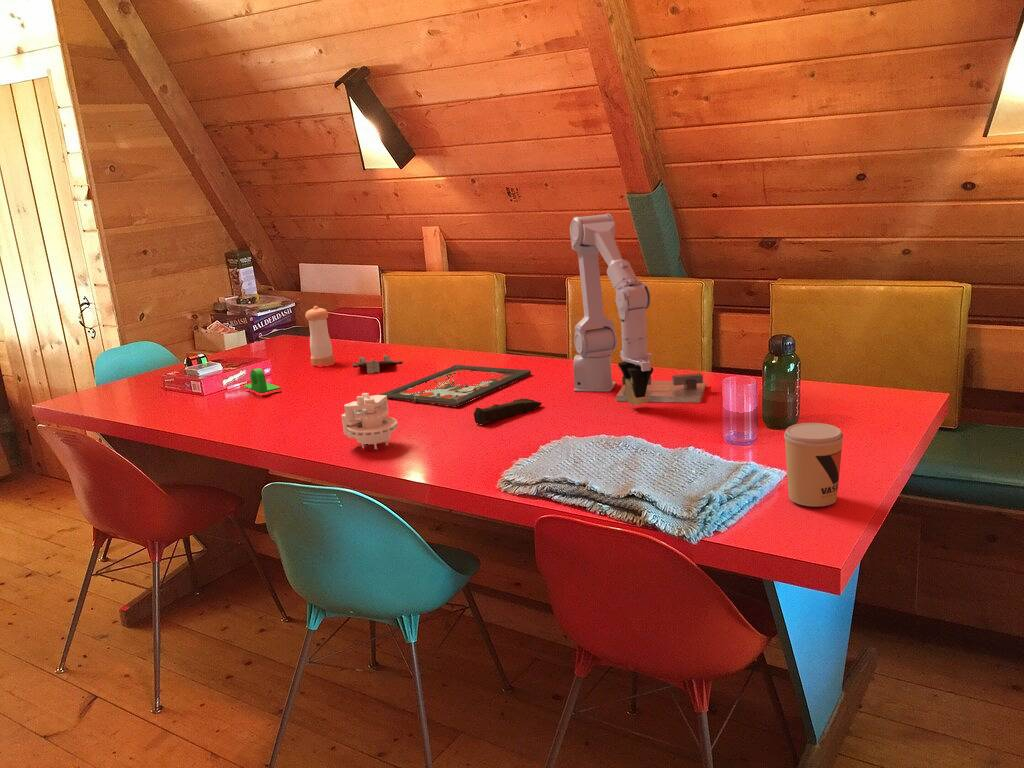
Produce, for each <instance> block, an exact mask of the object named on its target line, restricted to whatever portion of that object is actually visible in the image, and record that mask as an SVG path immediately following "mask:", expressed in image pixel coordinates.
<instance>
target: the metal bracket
mask: <svg viewBox="0 0 1024 768" xmlns="http://www.w3.org/2000/svg"><path fill="white" fill-rule="evenodd" d="M358 360H359V362H354V363H353V364H352V367H360V366H359V365H362V366H366V374H367V373H373V374H376V373H375V372H381V371H380V370H381V369H380V365H384V364H385V365H387V364H396V363H397V364H398V363H403V360H395V361H394V360H392V359H390V356H389V355H387V354H384V355H383V360H378V361H377V360H375V359H374V358H371V361H367V359H366V357H362V356H361V357H360V356H359V359H358ZM386 363H387V364H386Z"/></svg>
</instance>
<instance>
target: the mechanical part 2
mask: <svg viewBox="0 0 1024 768" xmlns="http://www.w3.org/2000/svg"><path fill="white" fill-rule="evenodd" d="M388 404H389V403H388V398H387V395H379V394H375V395H370V393H369V392H362V393H361V395H357V396H356V401H355V400H353V401H351V402H349V403H345V404H344V405H343V408H344V413H342V414H341V421H342V427H343V428H342V429H343V434H344V436H347V437H348V438H349V439H355V440H356V442H357V443H359V444H361V449H362V448H365V445H366V444H368V445H374V450H375V449H377V450H378V447H377V446H378V445H377V444H383V443H385V446H386V445H388V446H389V440H390V439H391V438H392V436H391V435H392V434H391V433H392V432H394V431H396V430H397V429H398V427H399V425H398V420H397V419H396V418H394V417H391V416H388V415H389V414H390V413H389V412H390V411H389V405H388ZM382 442H383V443H382Z"/></svg>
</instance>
